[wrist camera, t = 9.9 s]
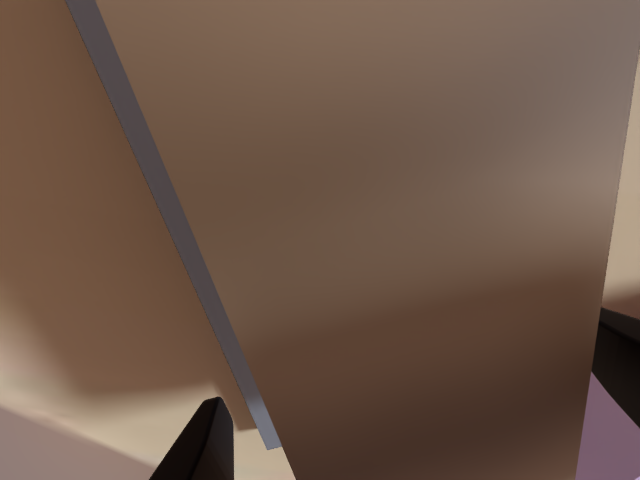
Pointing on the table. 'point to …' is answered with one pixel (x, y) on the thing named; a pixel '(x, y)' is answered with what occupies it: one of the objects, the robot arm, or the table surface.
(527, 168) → the brown rectangular block
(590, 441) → the clip
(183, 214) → the peg stand
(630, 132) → the table surface
